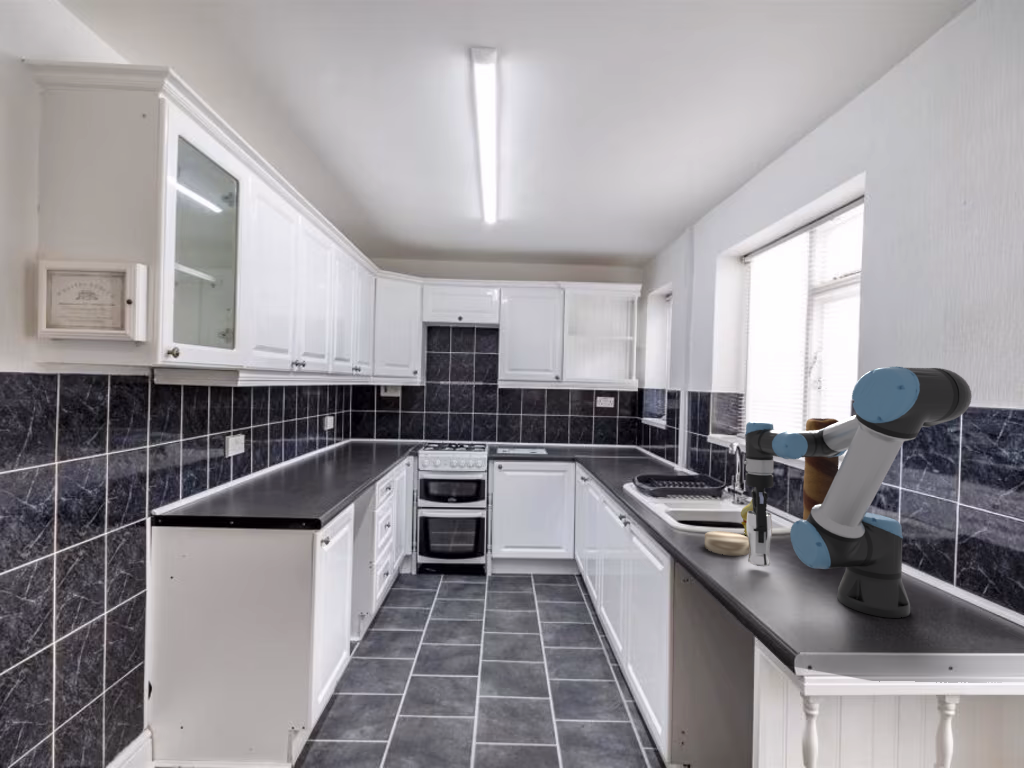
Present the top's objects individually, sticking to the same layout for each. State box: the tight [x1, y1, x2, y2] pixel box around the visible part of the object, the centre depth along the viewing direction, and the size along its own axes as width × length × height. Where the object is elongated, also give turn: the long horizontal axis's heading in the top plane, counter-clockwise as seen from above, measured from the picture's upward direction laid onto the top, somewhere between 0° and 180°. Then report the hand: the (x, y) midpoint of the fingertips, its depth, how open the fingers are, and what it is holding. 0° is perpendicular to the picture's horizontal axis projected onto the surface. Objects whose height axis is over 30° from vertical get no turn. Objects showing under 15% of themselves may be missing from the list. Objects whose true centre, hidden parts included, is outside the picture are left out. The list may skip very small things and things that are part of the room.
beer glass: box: [746, 511, 773, 567], centre depth 154 cm, size 7×7×15 cm
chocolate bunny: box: [740, 499, 753, 537], centre depth 189 cm, size 7×11×15 cm, turn 88°
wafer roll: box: [802, 417, 840, 520], centre depth 170 cm, size 10×11×45 cm
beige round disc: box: [704, 530, 750, 557], centre depth 174 cm, size 14×14×4 cm
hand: (759, 549), depth 154 cm, fingers closed on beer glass, 7 cm apart
